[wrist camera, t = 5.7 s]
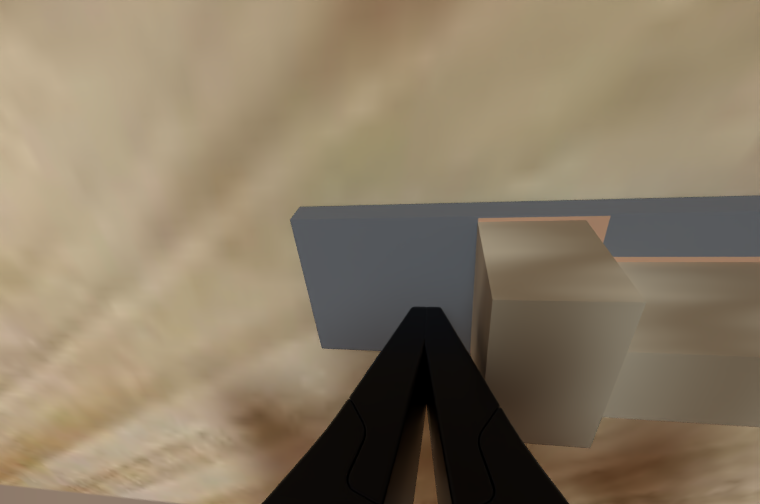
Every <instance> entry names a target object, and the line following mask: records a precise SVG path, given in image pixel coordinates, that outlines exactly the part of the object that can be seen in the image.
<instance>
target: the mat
mask: <svg viewBox="0 0 760 504" xmlns="http://www.w3.org/2000/svg"><path fill="white" fill-rule="evenodd" d="M559 220H587V222H588V223H589V225H590V226H591V227H592V229H593V230H594V231H595V233H596V234H597V236H598V237H599V238H600V240H601V241H602V242H603V244H604V245H605V246H606V248H607V249H608V251H609V252H610V253H611V255H612V256H613V257H614V259H615V260H616V261H617V262H760V196H725V197H684V198H643V199H602V200H561V201H521V202H480V203H439V204H398V205H358V206H317V207H299V208H298V210H297V211H296V213H295V214H294V215H293V217H292V218H291V219H290V221H291V225H292V229H293V234H294V238H295V242H296V246H297V250H298V254H299V258H300V262H301V266H302V270H303V274H304V278H305V282H306V286H307V290H308V294H309V298H310V302H311V306H312V310H313V314H314V318H315V322H316V327H317V331H318V335H319V339H320V343H321V347H322V348H325V349H349V350H373V351H382V349H383V348H384V346H385V345H386V343H387V342H388V340H389V339H390V338H391V336H392V335H393V333H394V332H395V330H396V329H397V327H398V326H399V325H400V323H401V322H402V320H403V319H404V317H405V316H406V314H407V313H408V311H409V310H410V309H411V308H412V307H414V306H420V307H441V308H442V310H443V311H444V313H445V314H446V316H447V318H448V319H449V321H450V323H451V325H452V326H453V328H454V330H455V331H456V333H457V335H458V336H459V338H460V340H461V341H462V343H463V345H464V346H465V348H466V350H467V351H468V353H469V354H470V355H471V348H470V344H471V327H472V310H473V293H474V276H475V259H476V242H477V225H478V222H500V221H559Z"/></svg>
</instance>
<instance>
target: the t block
mask: <svg viewBox="0 0 760 504" xmlns="http://www.w3.org/2000/svg"><path fill="white" fill-rule="evenodd" d="M470 348H471V358H472V360H473V361H474V363H475V365H476V366H477V368H478V370H479V371H480V373H481V375H482V376H483V378H484V380H485V381H486V383H487V385H488V386H489V388H490V390H491V391H492V393H493V395H494V396H495V398H496V400H497V401H498V403H499V405H500V408H502V409H503V411H504V413H505V414H506V416H507V418H508V419H509V421H510V423H511V424H512V426H513V427H514V429H515V430H516V432H517V433H518V435H519V437H520V438H521V440H522V441H523V443H529V444H542V445H555V446H568V447H581V448H590V447H591V445H592V442H593V440H594V437H595V434H596V432H597V429H598V427H599V424H600V421H601V419H602V417H609V418H624V419H640V420H656V421H671V422H687V423H702V424H718V425H733V426H749V427H760V262H617V261H616V260H615V259H614V257H613V256H612V255H611V253H610V252H609V251H608V249H607V248H606V246H605V245H604V244H603V242H602V241H601V240H600V238H599V237H598V236H597V234H596V233H595V231H594V230H593V229H592V227H591V226H590V225H589V223H588V222H587V220H559V221H500V222H478V225H477V242H476V259H475V276H474V293H473V310H472V327H471V344H470Z"/></svg>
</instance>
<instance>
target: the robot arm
mask: <svg viewBox="0 0 760 504" xmlns="http://www.w3.org/2000/svg"><path fill="white" fill-rule="evenodd" d="M349 398H350V399H348V400H347V401H346V403H345V404H344V406H343V407H342V408H341V410H340V411H339V413H338V414H337V415H336V417H335V418H334V420H333V421H332V422H331V424H330V425H329V426H328V428H327V429H326V430H325V431H324V433H323V434H322V435H321V436H320V437H319V439H318V440H317V441H316V442H315V443H314V445H313V446H312V447H311V448H310V449H309V451H308V452H307V453H306V454H305V455H304V456H303V457H302V459H301V460H300V461H299V462H298V463H297V464H296V465H295V467H294V468H293V469H292V470H291V471H290V472H289V473H288V475H287V476H286V477H285V478H284V479H283V480H282V481H281V483H280V484H279V485H278V486H277V487H276V488H275V489H274V490H273V492H272V493H271V494H270V495H269V496H268V497H267V498H266V499H265V501H264V502H263V503H262V504H413V501H414V494H415V486H416V479H417V472H418V464H419V457H420V449H421V442H422V434H423V427H424V419H425V412H426V404H427V412H428V421H429V430H430V439H431V447H432V456H433V465H434V474H435V482H436V491H437V500H438V504H569V503H568V502H567V500H566V499H565V498H564V496H563V495H562V494H561V492H560V491H559V490H558V488H557V487H556V486H555V485H554V483H553V482H552V481H551V479H550V478H549V477H548V475H547V474H546V473H545V471H544V470H543V469H542V468H541V466H540V465H539V463H538V462H537V461H536V459H535V458H534V457H533V455H532V454H531V452H530V451H529V450H528V448H527V447H526V446H525V444H524V443H523V441H522V440H521V438H520V437H519V435H518V433H517V432H516V430H515V429H514V427H513V426H512V424H511V423H510V421H509V419H508V418H507V416H506V414H505V413H504V411H503V409H502V408H500V405H499V403H498V401H497V400H496V398H495V396H494V395H493V393H492V391H491V390H490V388H489V386H488V385H487V383H486V381H485V380H484V378H483V376H482V375H481V373H480V371H479V370H478V368H477V366H476V365H475V363H474V361H473V360H472V358H471V356H470V355H469V353H468V351H467V350H466V348H465V346H464V345H463V343H462V341H461V340H460V338H459V336H458V335H457V333H456V331H455V330H454V328H453V326H452V325H451V323H450V321H449V319H448V318H447V316H446V314H445V313H444V311H443V310H442V308H441V307H420V306H414V307H412V308H411V309H410V310H409V311H408V313H407V314H406V316H405V317H404V319H403V320H402V322H401V323H400V325H399V326H398V327H397V329H396V330H395V332H394V333H393V335H392V336H391V338H390V339H389V340H388V342H387V343H386V345H385V346H384V348H383V349H382V351H381V352H380V354H379V355H378V356H377V358H376V359H375V361H374V362H373V364H372V365H371V367H370V368H369V369H368V371H367V372H366V374H365V375H364V377H363V378H362V380H361V381H360V383H359V384H358V385H357V387H356V388H355V390H354V391H353V393H352V394H351V396H350V397H349Z"/></svg>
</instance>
